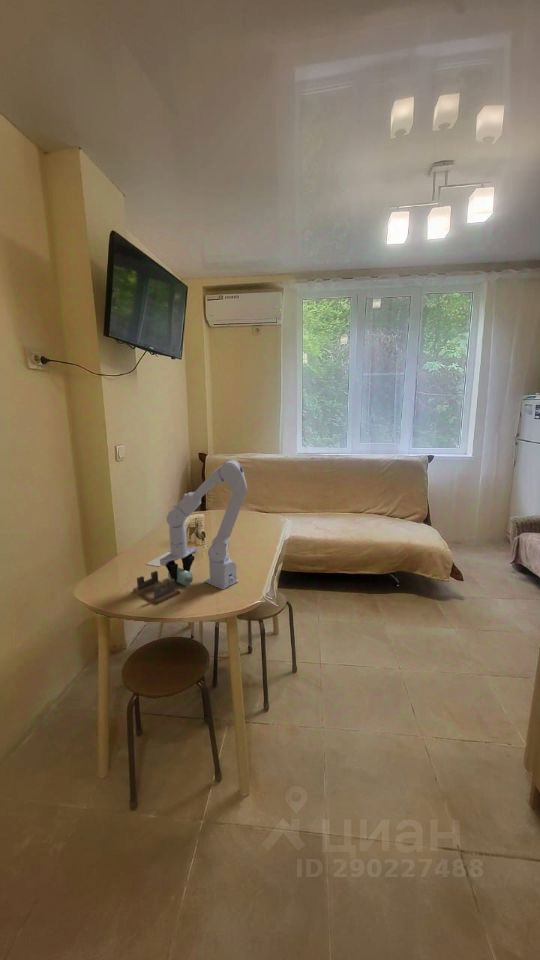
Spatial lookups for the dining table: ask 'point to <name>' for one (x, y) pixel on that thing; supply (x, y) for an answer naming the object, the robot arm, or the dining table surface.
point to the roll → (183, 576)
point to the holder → (156, 589)
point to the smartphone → (158, 560)
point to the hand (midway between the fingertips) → (180, 577)
